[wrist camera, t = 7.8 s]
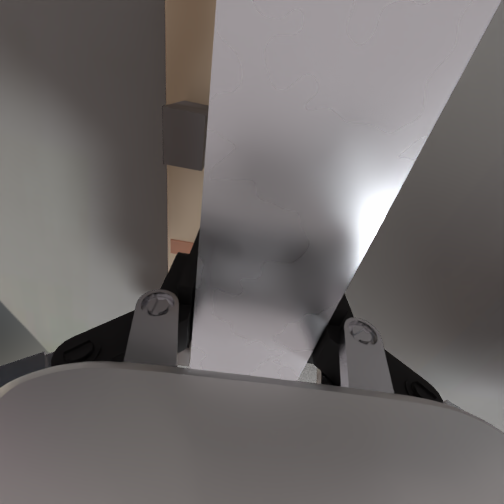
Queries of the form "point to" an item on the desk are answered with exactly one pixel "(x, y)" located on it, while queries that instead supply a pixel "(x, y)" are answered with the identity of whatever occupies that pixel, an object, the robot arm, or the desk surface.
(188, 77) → the board
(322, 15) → the light grey long block
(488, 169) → the desk surface
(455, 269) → the desk surface
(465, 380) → the desk surface
